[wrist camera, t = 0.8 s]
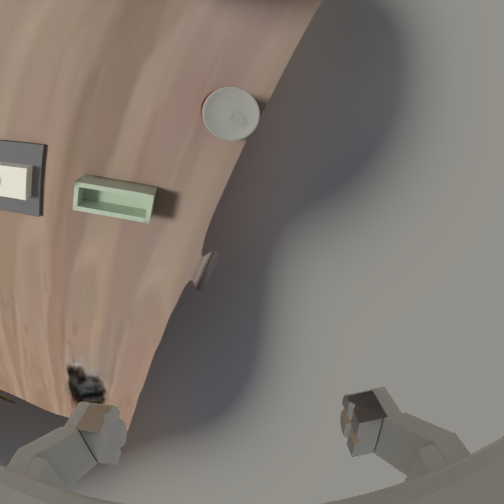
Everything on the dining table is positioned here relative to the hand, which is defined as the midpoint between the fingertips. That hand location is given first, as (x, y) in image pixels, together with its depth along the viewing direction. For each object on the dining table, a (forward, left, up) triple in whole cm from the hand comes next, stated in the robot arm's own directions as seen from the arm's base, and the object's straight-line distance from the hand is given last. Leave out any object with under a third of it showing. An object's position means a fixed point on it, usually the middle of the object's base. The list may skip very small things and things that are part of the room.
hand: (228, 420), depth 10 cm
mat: (+10, -39, -48) cm, 62 cm away
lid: (+10, -39, -47) cm, 62 cm away
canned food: (-8, +2, -48) cm, 49 cm away
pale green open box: (+10, -13, -48) cm, 50 cm away
